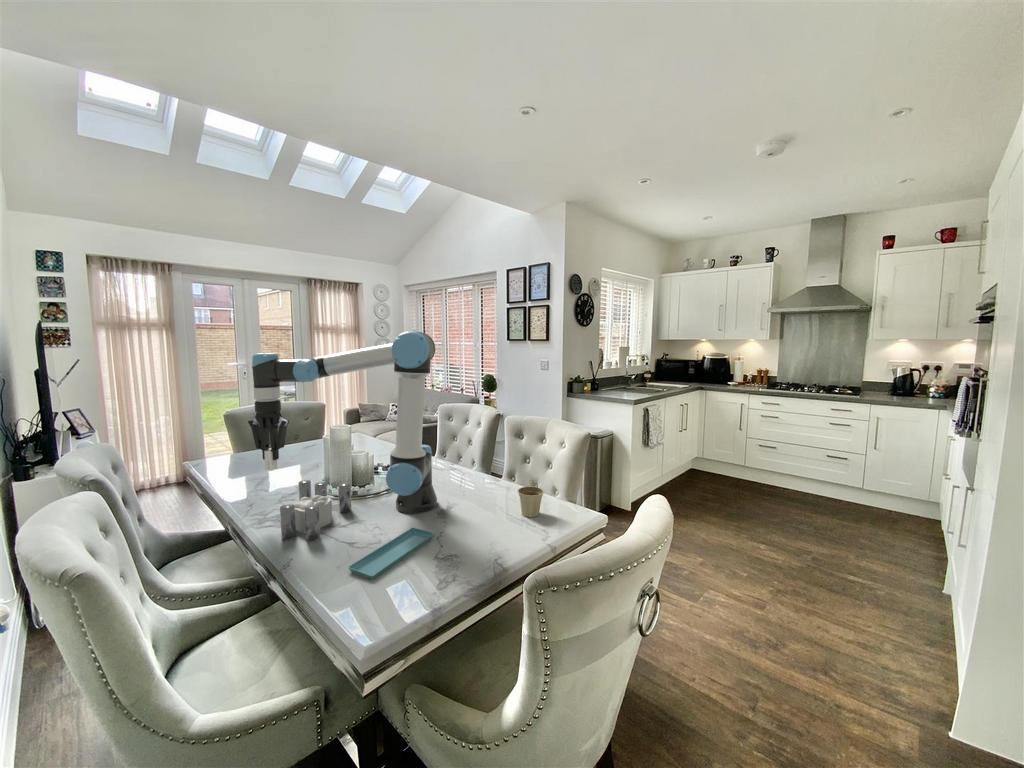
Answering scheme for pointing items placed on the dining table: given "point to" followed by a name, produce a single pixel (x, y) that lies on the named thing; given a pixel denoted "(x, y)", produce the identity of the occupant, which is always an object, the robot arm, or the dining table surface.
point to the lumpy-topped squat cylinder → (324, 511)
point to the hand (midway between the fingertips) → (271, 468)
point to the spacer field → (311, 510)
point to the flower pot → (530, 500)
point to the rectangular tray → (391, 553)
